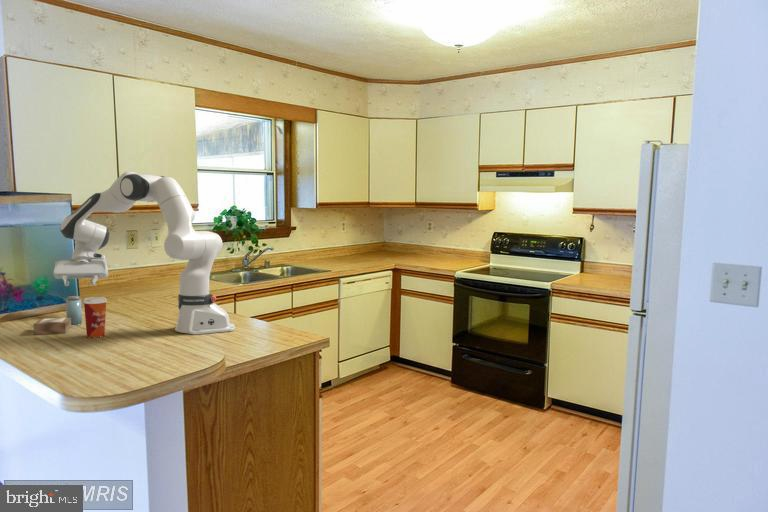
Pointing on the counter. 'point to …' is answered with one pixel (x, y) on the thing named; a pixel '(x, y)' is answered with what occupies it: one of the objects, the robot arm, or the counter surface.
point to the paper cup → (95, 316)
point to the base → (52, 326)
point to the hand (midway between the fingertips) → (79, 284)
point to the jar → (74, 309)
